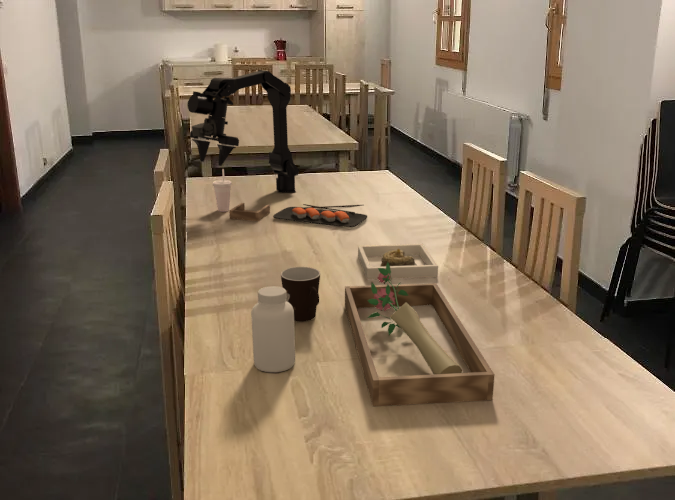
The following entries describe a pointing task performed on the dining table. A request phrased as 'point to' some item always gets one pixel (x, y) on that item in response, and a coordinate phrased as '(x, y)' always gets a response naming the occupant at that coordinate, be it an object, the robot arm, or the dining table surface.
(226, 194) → the smoothie
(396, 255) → the brown round lump
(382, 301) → the flower vase
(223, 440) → the dining table surface
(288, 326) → the pill bottle
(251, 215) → the rest
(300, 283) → the coffee mug
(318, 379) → the dining table surface
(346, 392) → the dining table surface
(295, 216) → the sushi plate
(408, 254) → the bagel tray
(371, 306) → the flower tray
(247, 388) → the dining table surface
